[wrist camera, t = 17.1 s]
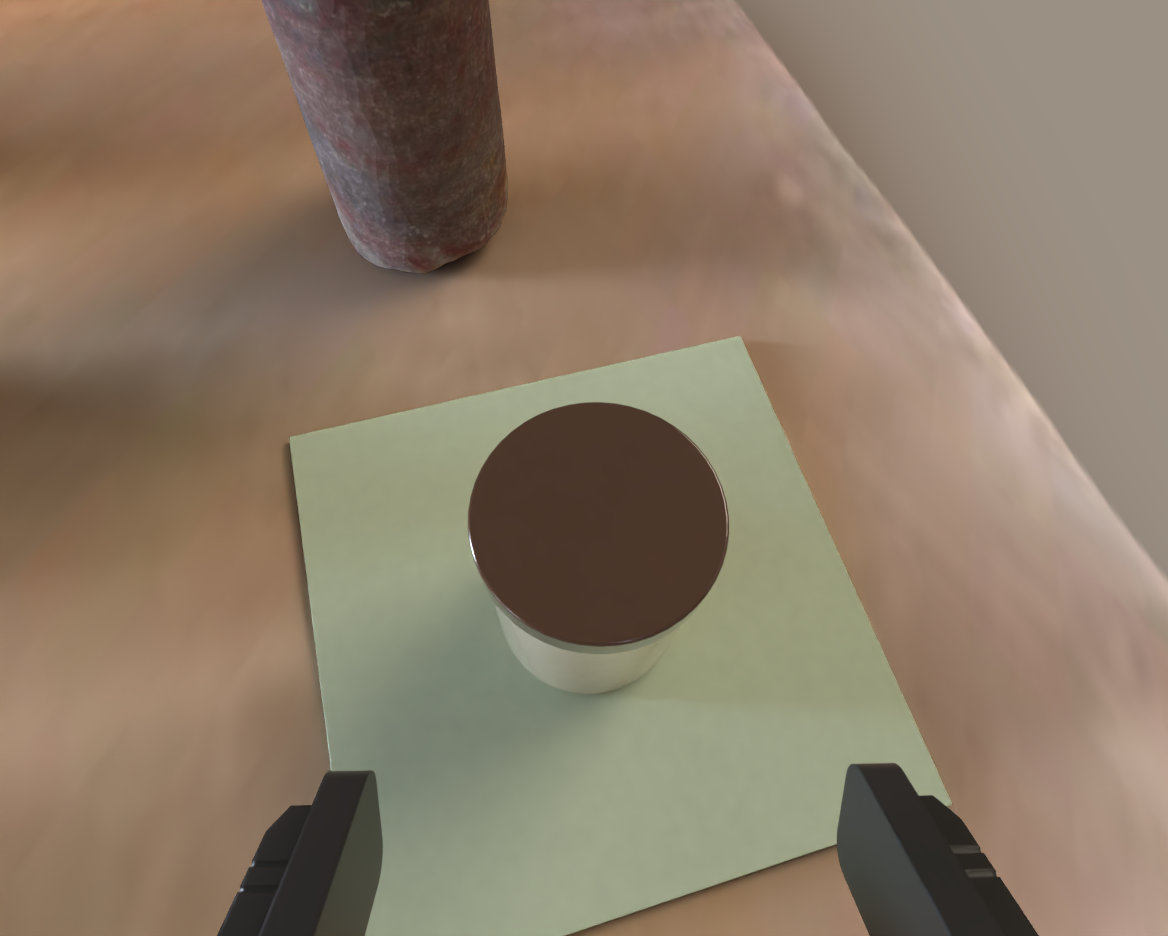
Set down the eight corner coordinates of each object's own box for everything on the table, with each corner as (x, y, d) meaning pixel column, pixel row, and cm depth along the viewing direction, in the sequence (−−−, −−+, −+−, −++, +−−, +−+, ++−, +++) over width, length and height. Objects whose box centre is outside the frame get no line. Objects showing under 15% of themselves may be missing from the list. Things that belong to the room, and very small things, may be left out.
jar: (567, 741, 23) (571, 705, 16) (458, 583, 25) (416, 487, 18) (720, 621, 25) (786, 539, 17) (606, 483, 27) (623, 358, 19)
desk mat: (739, 339, 30) (740, 335, 30) (948, 804, 23) (953, 805, 22) (291, 440, 27) (288, 436, 27) (363, 1002, 20) (360, 1005, 20)
